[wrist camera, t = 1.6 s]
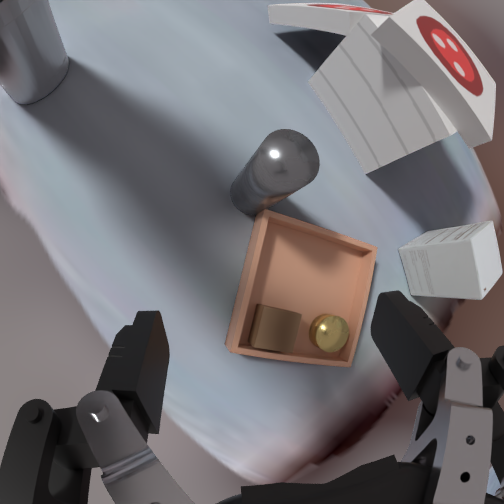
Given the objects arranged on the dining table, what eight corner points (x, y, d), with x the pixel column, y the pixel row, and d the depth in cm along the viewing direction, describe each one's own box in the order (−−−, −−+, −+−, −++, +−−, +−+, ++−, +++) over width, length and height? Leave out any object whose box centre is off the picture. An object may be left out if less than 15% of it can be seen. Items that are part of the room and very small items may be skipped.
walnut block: (247, 341, 28) (254, 347, 26) (256, 303, 29) (264, 306, 27) (283, 347, 29) (292, 353, 27) (292, 310, 30) (302, 314, 28)
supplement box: (437, 275, 38) (503, 274, 26) (409, 296, 36) (481, 302, 24) (426, 230, 37) (493, 219, 25) (396, 247, 35) (471, 238, 23)
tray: (224, 344, 29) (230, 352, 26) (256, 214, 31) (264, 208, 28) (337, 360, 32) (350, 367, 29) (362, 248, 34) (377, 247, 31)
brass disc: (304, 345, 30) (312, 350, 28) (313, 310, 31) (322, 312, 29) (334, 349, 31) (343, 354, 29) (343, 316, 31) (352, 319, 30)
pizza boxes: (335, 16, 37) (386, -45, 19) (430, 153, 39) (513, 119, 22) (246, 24, 32) (288, -68, 14) (361, 196, 34) (477, 153, 17)
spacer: (225, 207, 30) (253, 175, 19) (236, 168, 30) (268, 120, 20) (266, 219, 31) (314, 195, 20) (275, 180, 31) (323, 142, 21)
